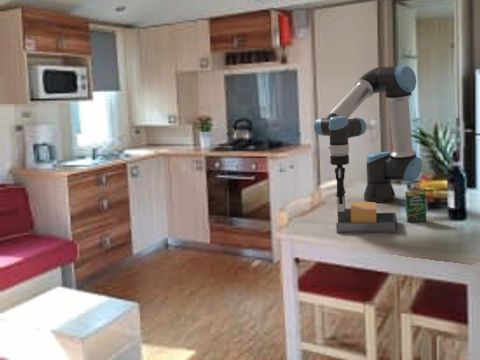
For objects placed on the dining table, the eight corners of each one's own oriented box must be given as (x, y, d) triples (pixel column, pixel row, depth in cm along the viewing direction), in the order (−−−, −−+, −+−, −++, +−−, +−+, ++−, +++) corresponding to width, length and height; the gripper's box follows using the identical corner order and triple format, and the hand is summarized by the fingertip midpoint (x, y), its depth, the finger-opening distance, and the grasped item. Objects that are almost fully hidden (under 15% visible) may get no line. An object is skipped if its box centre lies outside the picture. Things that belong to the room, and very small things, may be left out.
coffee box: (406, 222, 237) (406, 192, 234) (405, 220, 239) (405, 190, 237) (426, 222, 235) (426, 191, 233) (425, 220, 238) (425, 190, 235)
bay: (336, 233, 229) (336, 223, 228) (338, 222, 244) (337, 213, 243) (397, 232, 223) (397, 223, 223) (395, 221, 239) (395, 212, 238)
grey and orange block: (337, 228, 230) (336, 191, 227) (338, 220, 242) (337, 184, 239) (376, 228, 227) (375, 190, 224) (375, 220, 238) (375, 184, 235)
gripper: (331, 151, 238) (333, 205, 243) (329, 158, 223) (331, 215, 227) (349, 151, 237) (350, 205, 241) (348, 157, 221) (350, 215, 226)
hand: (341, 210), depth 234 cm, fingers closed on grey and orange block, 3 cm apart
